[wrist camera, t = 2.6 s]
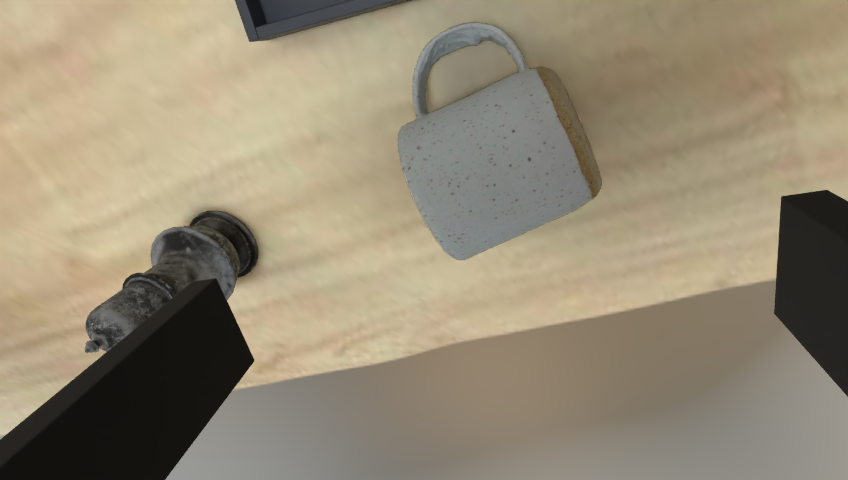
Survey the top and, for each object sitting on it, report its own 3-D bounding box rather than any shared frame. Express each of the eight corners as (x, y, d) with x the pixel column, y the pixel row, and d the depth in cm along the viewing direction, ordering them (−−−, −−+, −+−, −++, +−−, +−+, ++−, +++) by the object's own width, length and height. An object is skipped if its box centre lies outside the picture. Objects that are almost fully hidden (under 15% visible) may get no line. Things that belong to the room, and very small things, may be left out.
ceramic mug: (597, 171, 27) (624, 222, 20) (469, 227, 30) (453, 289, 23) (518, -12, 24) (517, -27, 17) (383, 70, 27) (336, 86, 20)
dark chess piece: (232, 294, 35) (108, 414, 25) (170, 239, 34) (13, 341, 24) (277, 250, 33) (162, 363, 22) (212, 189, 32) (58, 277, 21)
